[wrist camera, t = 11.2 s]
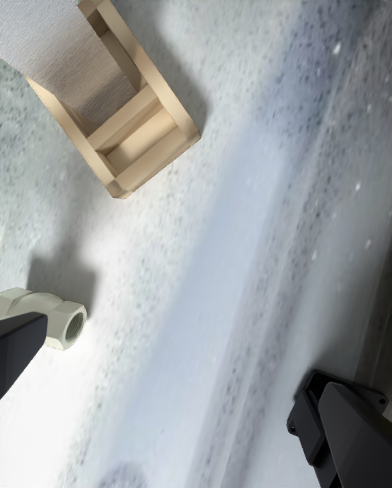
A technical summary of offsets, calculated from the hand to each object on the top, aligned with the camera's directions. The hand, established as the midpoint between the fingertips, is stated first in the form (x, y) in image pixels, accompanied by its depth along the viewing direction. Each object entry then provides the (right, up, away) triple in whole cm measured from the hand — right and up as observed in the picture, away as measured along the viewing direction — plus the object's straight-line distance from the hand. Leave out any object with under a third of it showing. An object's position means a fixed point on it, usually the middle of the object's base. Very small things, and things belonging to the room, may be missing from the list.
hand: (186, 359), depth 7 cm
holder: (-6, +14, +11) cm, 19 cm away
